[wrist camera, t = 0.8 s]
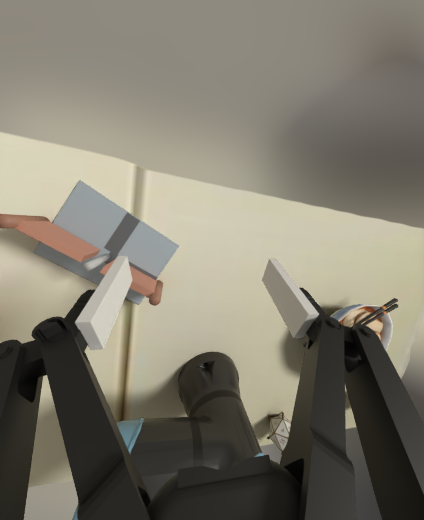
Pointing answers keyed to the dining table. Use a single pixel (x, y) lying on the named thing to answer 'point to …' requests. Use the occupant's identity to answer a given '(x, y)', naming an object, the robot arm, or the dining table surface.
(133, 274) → the panel
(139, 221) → the card
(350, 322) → the ramen bowl
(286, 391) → the dining table surface
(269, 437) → the game die
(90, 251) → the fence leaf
